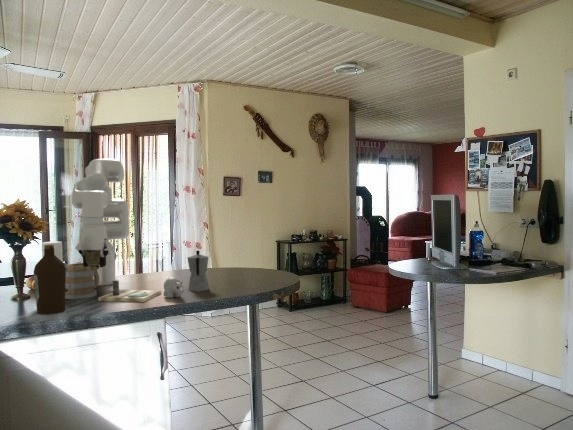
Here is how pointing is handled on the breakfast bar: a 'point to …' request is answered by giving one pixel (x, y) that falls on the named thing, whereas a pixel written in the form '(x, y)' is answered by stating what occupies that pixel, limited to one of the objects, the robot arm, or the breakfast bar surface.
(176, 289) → the chubby cartoon animal
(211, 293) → the breakfast bar surface
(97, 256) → the cup
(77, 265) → the tankard
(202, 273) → the coffeepot
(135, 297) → the board
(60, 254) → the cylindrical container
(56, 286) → the olive oil
